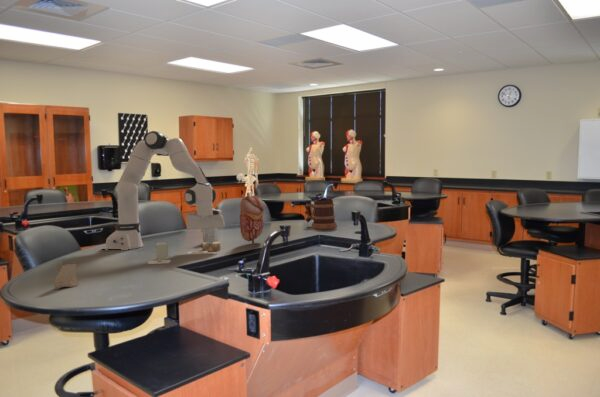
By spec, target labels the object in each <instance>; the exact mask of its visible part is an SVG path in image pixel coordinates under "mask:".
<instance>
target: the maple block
mask: <svg viewBox="0 0 600 397" xmlns="http://www.w3.org/2000/svg"><path fill="white" fill-rule="evenodd" d="M213 250H214V251H221V241H218V242H204V243H203V242H202V251H209V252H210V251H213Z"/></svg>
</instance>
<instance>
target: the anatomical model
mask: <svg viewBox="0 0 600 397" xmlns="http://www.w3.org/2000/svg"><path fill="white" fill-rule="evenodd" d="M263 203H264V202H263V201H262V199H261V198H260V197H259V196H257V195H256V196H255V195H250V192H249V191H248V192H246V196H244V197H242V198H241V201H240V203H239V208H240V210H239V212H240V213H239V229H240V234H241V237H242V239H243V240H244V241H247V242H251V244H253V245H254V244H255V240H256V239H257V238H259V237H260V236H261V235H262V234H263V230H264V224H265V221H264V218H263V214H264V204H263Z"/></svg>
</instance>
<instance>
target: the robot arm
mask: <svg viewBox="0 0 600 397" xmlns="http://www.w3.org/2000/svg"><path fill="white" fill-rule="evenodd" d="M154 155H156V156H158V157H160V156H161V157H162V156H163V157H169V160H170V162H171V165H172V167H173V168H174V169H175V170H176V171H177V172H181V173H185V174H187V175H189V176H192V177H193V178H194V179H195V181H196V182H197V183H196V184H195V185H194V186H193V187H191V188H188V189H186V190H185V192H184V194H183V195H184V196H183V198H184V201H185V203H186V204H187V205H188V206H196V212H195V211H194V212H188V213H186V215H185V219H186V229H187V230H192V231H193V230H200V232H201V233H202V236H203V235H204V237H209V233H210V231H211V229H213V228H217V229H223V228H225V219H224V218H225V217H224V215H222V212H223V211H222V210H221V209H218V208H214V204H213V203H214V202H215V201H216V199H217V193H216V192H217V191H216V190H215V189H214V187H213V186H212V184H211V183H210V182H209V180H208V179H207V176H206V175H205V172H204V171H203V169H202V168H201V166H200V164H198V162H196V161H195V160H194V159H193V157H192V156H191V155H190V152H189V150H188V148H187V146H186V144H185V142H184V141H183V140H182V138H179V137H174V138H169V137H168V136H167V135H164V134H162V133H161V132H159V131H155V130H152V131H149V132H148V133H146V134H145V136H144V140H140V141H138V142H137V144H136V145H135V146H134V148H133V150H132V151H131V154H130V156H129V158H128V161H127V163H126V165H125V168H124V170H123V172H122V174H121V175H120V178H119V180H118V182H117V184H116V187H115V191H116V194H117V213H118V214H117V215H118V216H117V217H118V223H117V224H116V225H115V227H114V228H115V231H114V232H112V233H111V234H110V235H109V236H108V237H107V238H106V239H105V240H106V241H105V245H104V246H105V247H104V246H102V247H101V250H102V249H121V250H120V251H129V250H133V249H139V248H142V247H144V243H143V241H142V236H141V222H140V216H139V186H140V184H141V181H142V180H143V178H144V176H145V174H146V172H147V169H148V167H149V165H150V162H151V160H152V159H153V158H152V157H153V156H154ZM204 229H208V231H209V232H208V233H204ZM103 247H104V248H103ZM128 249H129V250H128Z"/></svg>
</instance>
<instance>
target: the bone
mask: <svg viewBox="0 0 600 397" xmlns="http://www.w3.org/2000/svg"><path fill="white" fill-rule="evenodd" d="M76 268H77V263H71V262H66V263H62V266H61V269H60V270H59V272H58V273H57V275H56V277H55V279H54V281H53V288H54V289H55V290H58V289H61V288H68V287H70V288H74V287H77V286H78V285H79V280H77V278H76Z"/></svg>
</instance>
